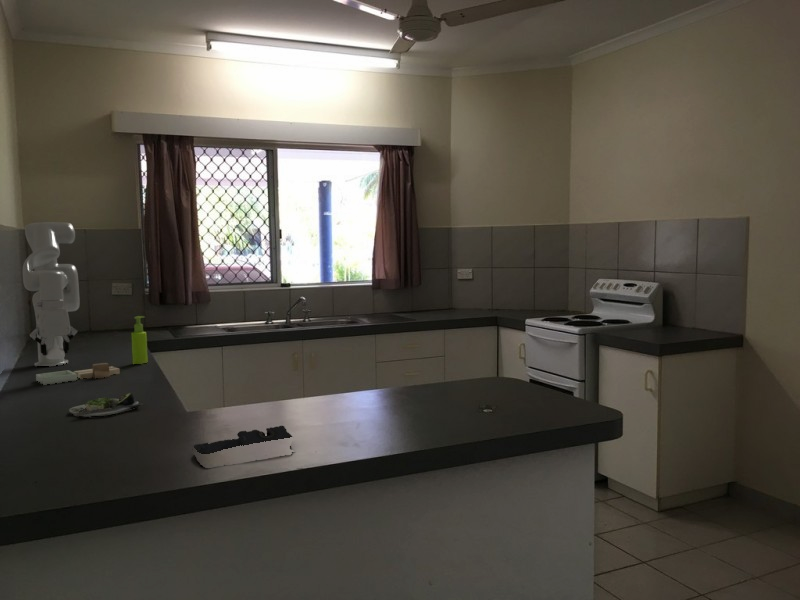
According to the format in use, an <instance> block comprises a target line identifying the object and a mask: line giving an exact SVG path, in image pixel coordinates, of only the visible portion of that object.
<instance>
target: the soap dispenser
mask: <svg viewBox="0 0 800 600" xmlns="http://www.w3.org/2000/svg"><path fill="white" fill-rule="evenodd" d="M133 318H134V319H135V324H134V325H133V328H134V332H131V356H132V365H134V364H141V365H143V364H142V363H147V362H148V363H149V359H148V338H147V332H146V331H144V324H143V323H141V319H144V318H146V317H145V315H137V316H134V317H133ZM148 363H147V364H148Z"/></svg>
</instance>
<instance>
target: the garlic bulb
mask: <svg viewBox="0 0 800 600" xmlns="http://www.w3.org/2000/svg"><path fill="white" fill-rule="evenodd" d="M45 356H46V358H47V359H60V358H63V357H64V358H65V356H66V353H65V352H64V350H63V349H61V348H59V346H58V342H57V338H56V337H53V344H52V347H51V348H50V349H48V350H47V355H45Z"/></svg>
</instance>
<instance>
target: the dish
mask: <svg viewBox="0 0 800 600" xmlns="http://www.w3.org/2000/svg"><path fill="white" fill-rule="evenodd" d="M35 380H36V382H37V381H38V382H37V383H39V382H40V383H39V384H41V385H42V384H43V385H42V386H48V385H47V384H50V385H56V384H55V383H57V384H63V383H62V382H65V383H69V382H68V381H72V382H77V381H78V378H77V374H76V373H74V371H71V370H69V369H68V370H61V371H53V372H43V373H37V374H35ZM76 380H77V381H76Z"/></svg>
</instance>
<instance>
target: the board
mask: <svg viewBox="0 0 800 600" xmlns="http://www.w3.org/2000/svg"><path fill="white" fill-rule="evenodd" d="M120 369H121V368H119V367H116V366H113V365H111V366H109V374H110V376H114V375H113V374H116V375H120V372H121V371H120ZM73 372H74V373H76V374H77V377H78V378H77V379H79V378H80V379H79V380H84V379H83V378H87V379H93V378H92V377H93V368H89V369H82V370H74V371H73Z"/></svg>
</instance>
